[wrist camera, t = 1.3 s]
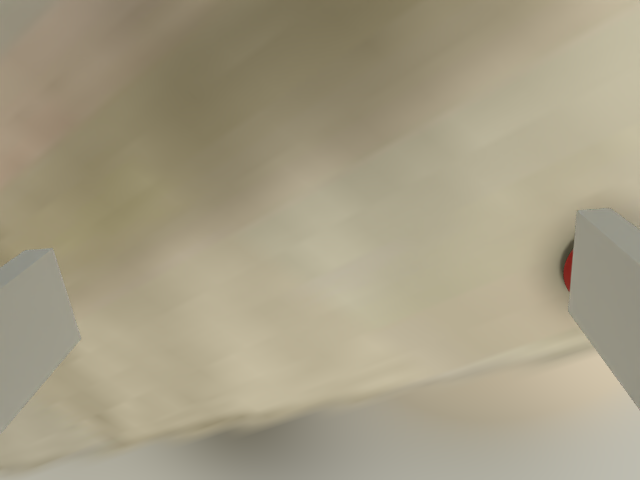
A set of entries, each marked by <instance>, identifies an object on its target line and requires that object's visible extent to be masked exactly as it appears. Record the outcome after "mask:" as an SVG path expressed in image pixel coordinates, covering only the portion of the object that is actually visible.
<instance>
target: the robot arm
mask: <svg viewBox="0 0 640 480" xmlns="http://www.w3.org/2000/svg"><path fill="white" fill-rule="evenodd" d="M568 312H569V313H570V315H571V316H572V318H573V319H574V320H575V322H576V323H577V324H578V326H579V327H580V329H581V330H582V331H583V333H584V334H585V335H586V337H587V338H588V340H589V341H590V342H591V344H592V345H593V346H594V348H595V349H596V351H597V352H598V353H599V355H600V356H601V357H602V359H603V360H604V361H605V363H606V364H607V366H608V367H609V368H610V370H611V371H612V373H613V374H614V375H615V377H616V378H617V379H618V381H619V382H620V384H621V385H622V386H623V388H624V389H625V390H626V392H627V393H628V395H629V396H630V397H631V399H632V400H633V401H634V403H635V404H636V405H637V407H638V408H639V410H640V230H639V229H638V228H637V227H635V226H634V225H633V224H631V223H630V222H629V221H627V220H626V219H625V218H623V217H622V216H621V215H619V214H618V213H617V212H615V211H614V210H613V209H611V208H603V209H589V210H577V214H576V226H575V237H574V249H573V260H572V272H571V283H570V295H569V306H568ZM80 339H81V336H80V333H79V330H78V326H77V323H76V320H75V317H74V314H73V311H72V307H71V304H70V301H69V298H68V295H67V292H66V288H65V285H64V282H63V279H62V276H61V272H60V269H59V266H58V263H57V260H56V257H55V253H54V250H53V248H49V249H35V250H25V251H23V252H22V253H20V254H19V255H18V256H16V257H15V258H13V259H12V260H11V261H9V262H8V263H6V264H5V265H4V266H2V267H1V268H0V434H1V433H2V432H3V431H4V429H5V428H6V427H7V426H8V425H9V424H10V422H11V421H12V420H13V419H14V418H15V416H16V415H17V414H18V413H19V412H20V410H21V409H22V408H23V407H24V406H25V405H26V403H27V402H28V401H29V400H30V399H31V397H32V396H33V395H34V394H35V393H36V392H37V390H38V389H39V388H40V387H41V386H42V384H43V383H44V382H45V381H46V380H47V379H48V377H49V376H50V375H51V374H52V373H53V371H54V370H55V369H56V368H57V367H58V366H59V364H60V363H61V362H62V361H63V360H64V358H65V357H66V356H67V355H68V354H69V352H70V351H71V350H72V349H73V348H74V347H75V345H76V344H77V343H78V342H79V341H80Z"/></svg>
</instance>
